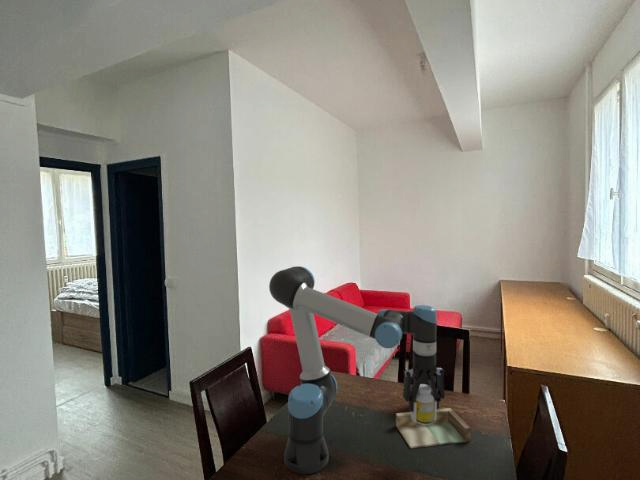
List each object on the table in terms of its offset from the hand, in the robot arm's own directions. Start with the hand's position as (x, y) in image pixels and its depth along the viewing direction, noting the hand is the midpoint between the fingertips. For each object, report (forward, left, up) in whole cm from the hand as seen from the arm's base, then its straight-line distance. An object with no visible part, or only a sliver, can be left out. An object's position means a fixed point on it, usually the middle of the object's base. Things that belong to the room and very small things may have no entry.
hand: (423, 418), depth 116 cm
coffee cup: (+14, +30, -13) cm, 36 cm away
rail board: (+8, +12, -13) cm, 19 cm away
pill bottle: (0, 0, -1) cm, 1 cm away
